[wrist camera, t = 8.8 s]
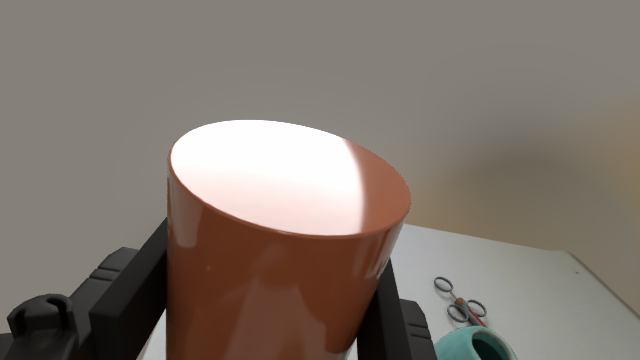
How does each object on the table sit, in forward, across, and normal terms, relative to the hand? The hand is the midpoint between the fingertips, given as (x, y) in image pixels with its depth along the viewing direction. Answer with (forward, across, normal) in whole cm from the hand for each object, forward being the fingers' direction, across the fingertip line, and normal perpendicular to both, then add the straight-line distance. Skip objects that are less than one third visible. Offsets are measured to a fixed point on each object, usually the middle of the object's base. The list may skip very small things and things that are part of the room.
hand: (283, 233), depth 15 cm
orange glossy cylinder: (-3, 0, -6) cm, 7 cm away
